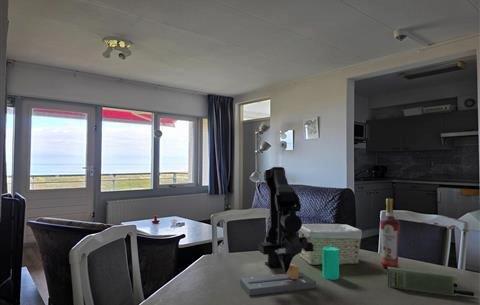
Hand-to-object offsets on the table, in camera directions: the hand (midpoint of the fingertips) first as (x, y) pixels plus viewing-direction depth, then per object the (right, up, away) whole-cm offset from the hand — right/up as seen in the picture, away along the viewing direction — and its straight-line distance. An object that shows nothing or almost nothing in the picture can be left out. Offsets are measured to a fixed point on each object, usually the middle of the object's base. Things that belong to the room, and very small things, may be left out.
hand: (285, 271), depth 111 cm
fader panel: (-3, -4, -1) cm, 5 cm away
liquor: (+46, -6, +20) cm, 50 cm away
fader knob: (+2, -2, +1) cm, 3 cm away
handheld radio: (+47, -5, -4) cm, 48 cm away
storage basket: (+23, -6, +29) cm, 38 cm away
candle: (+18, -5, +9) cm, 21 cm away
